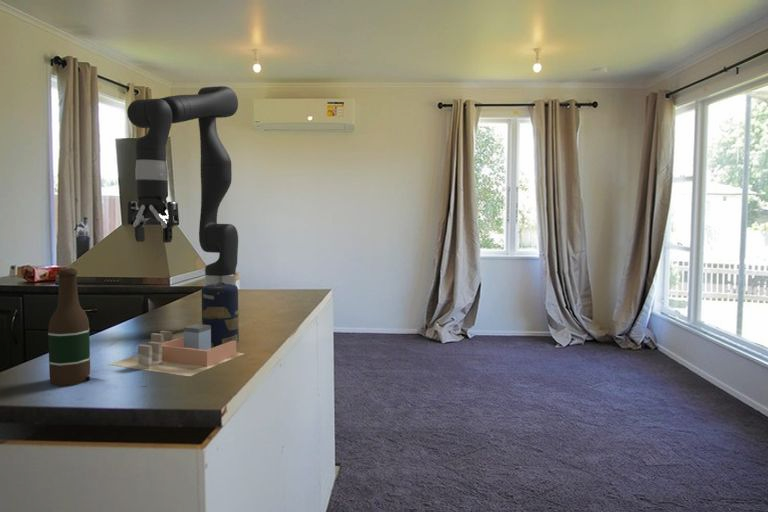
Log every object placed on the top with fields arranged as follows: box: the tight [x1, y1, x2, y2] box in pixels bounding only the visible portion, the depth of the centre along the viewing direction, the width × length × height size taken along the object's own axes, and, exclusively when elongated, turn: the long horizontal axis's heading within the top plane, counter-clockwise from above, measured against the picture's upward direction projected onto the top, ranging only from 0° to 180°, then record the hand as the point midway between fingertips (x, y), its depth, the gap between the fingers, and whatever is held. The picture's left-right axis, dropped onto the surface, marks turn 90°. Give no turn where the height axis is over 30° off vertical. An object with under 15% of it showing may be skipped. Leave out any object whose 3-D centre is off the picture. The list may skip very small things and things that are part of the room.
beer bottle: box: [47, 268, 91, 387], centre depth 108 cm, size 8×8×24 cm
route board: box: [107, 330, 245, 377], centre depth 123 cm, size 20×23×6 cm
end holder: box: [162, 335, 240, 367], centre depth 124 cm, size 12×15×4 cm
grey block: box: [183, 323, 212, 350], centre depth 124 cm, size 4×4×7 cm
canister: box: [201, 282, 240, 348], centre depth 138 cm, size 10×10×18 cm
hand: (153, 242), depth 132 cm, fingers open, 8 cm apart
